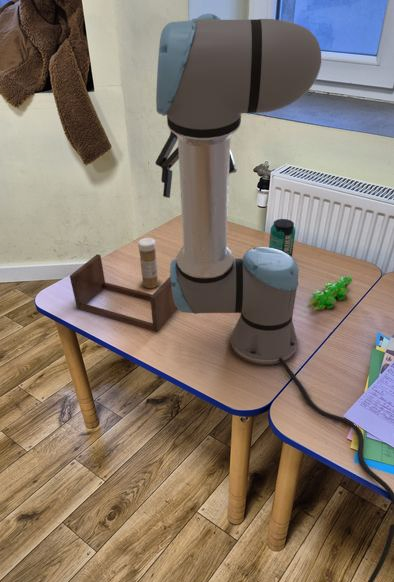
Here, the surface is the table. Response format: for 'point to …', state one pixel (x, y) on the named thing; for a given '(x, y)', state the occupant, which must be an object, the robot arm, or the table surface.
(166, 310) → the bottle rack
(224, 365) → the table surface
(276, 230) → the green supplement bottle
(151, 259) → the sprinkles bottle
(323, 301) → the green long bumpy piece
